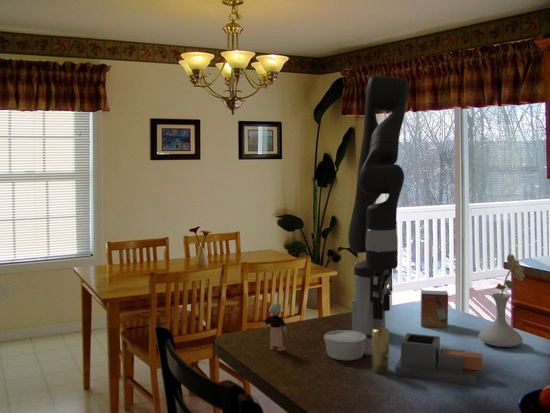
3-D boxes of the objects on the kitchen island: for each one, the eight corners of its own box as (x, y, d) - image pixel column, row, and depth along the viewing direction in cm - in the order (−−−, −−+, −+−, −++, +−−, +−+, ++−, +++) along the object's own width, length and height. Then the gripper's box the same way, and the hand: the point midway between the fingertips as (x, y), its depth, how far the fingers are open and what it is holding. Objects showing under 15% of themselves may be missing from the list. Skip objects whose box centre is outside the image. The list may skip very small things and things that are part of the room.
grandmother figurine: (291, 348, 154) (291, 302, 154) (285, 352, 151) (285, 305, 150) (266, 344, 158) (265, 300, 157) (260, 348, 154) (259, 303, 153)
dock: (395, 375, 134) (395, 344, 133) (404, 359, 145) (404, 330, 144) (475, 386, 127) (476, 353, 126) (478, 368, 138) (479, 338, 137)
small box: (420, 327, 174) (421, 293, 173) (420, 322, 179) (420, 289, 179) (448, 328, 172) (448, 294, 171) (446, 323, 178) (447, 290, 177)
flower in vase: (502, 353, 149) (504, 259, 147) (469, 341, 159) (470, 253, 157) (536, 345, 155) (538, 255, 153) (502, 335, 165) (503, 250, 163)
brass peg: (370, 371, 136) (370, 331, 135) (373, 366, 140) (374, 326, 139) (386, 374, 135) (386, 332, 134) (390, 368, 138) (390, 328, 138)
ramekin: (341, 345, 157) (341, 327, 156) (375, 355, 149) (375, 335, 148) (315, 355, 149) (315, 335, 148) (348, 365, 141) (348, 344, 141)
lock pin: (441, 365, 134) (441, 353, 134) (442, 361, 137) (442, 349, 136) (481, 370, 130) (481, 358, 130) (482, 366, 133) (482, 354, 133)
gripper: (372, 243, 143) (372, 307, 144) (358, 251, 130) (359, 320, 131) (402, 244, 140) (402, 309, 141) (391, 252, 127) (391, 323, 128)
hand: (381, 314), depth 136 cm, fingers open, 8 cm apart
